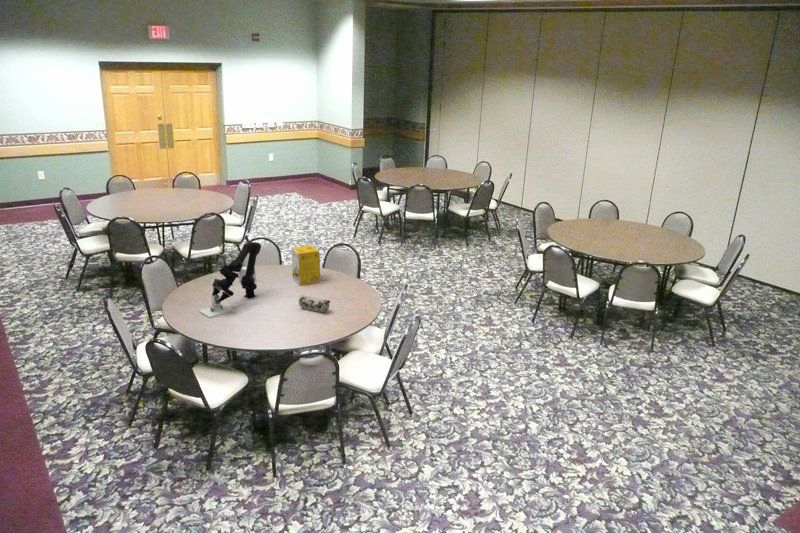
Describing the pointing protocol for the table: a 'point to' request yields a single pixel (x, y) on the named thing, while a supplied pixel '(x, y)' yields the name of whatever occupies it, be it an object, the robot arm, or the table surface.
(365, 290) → the table surface
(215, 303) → the block
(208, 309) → the pin tray
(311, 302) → the pencil case
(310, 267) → the packaging box
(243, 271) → the light bulb box
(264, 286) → the table surface
